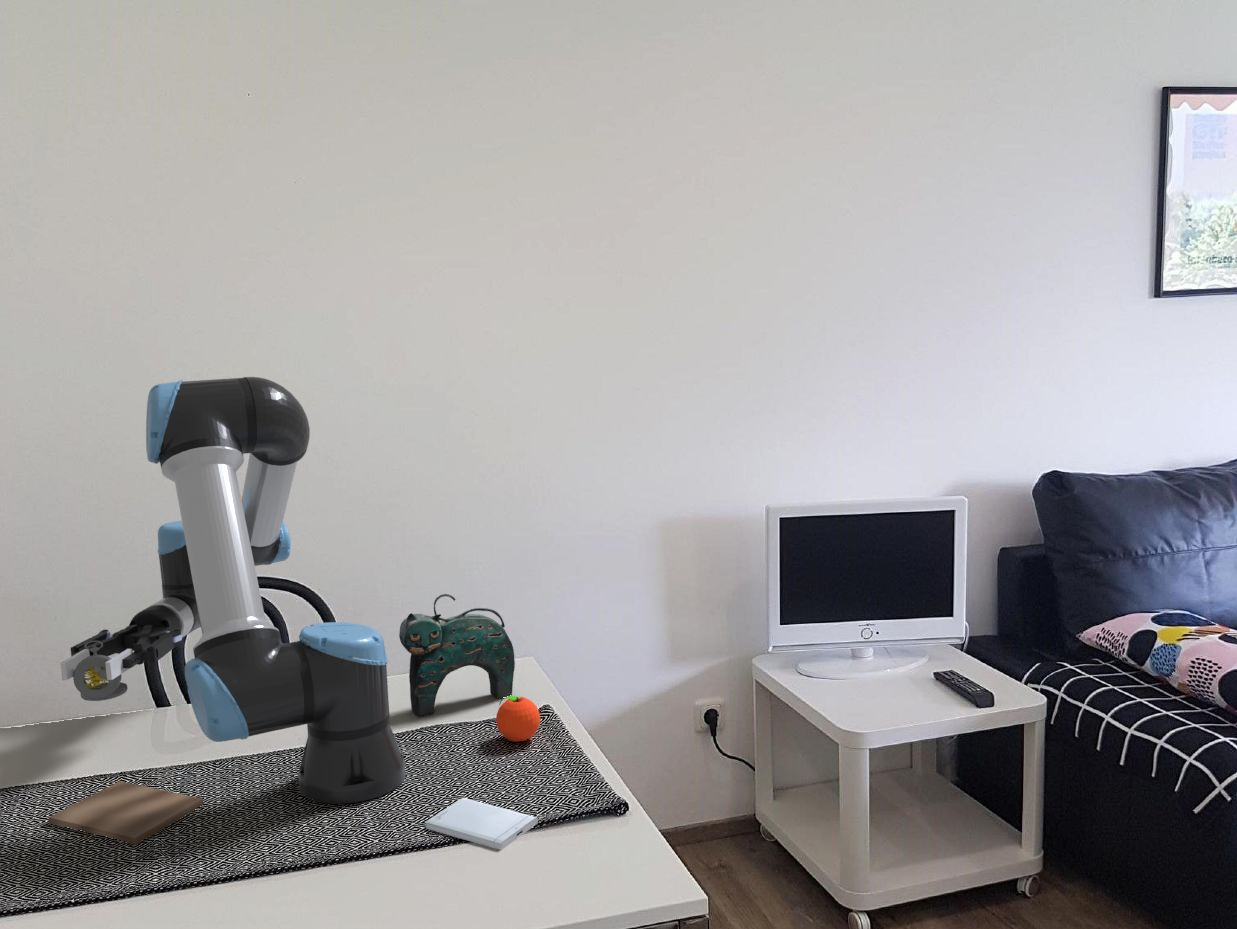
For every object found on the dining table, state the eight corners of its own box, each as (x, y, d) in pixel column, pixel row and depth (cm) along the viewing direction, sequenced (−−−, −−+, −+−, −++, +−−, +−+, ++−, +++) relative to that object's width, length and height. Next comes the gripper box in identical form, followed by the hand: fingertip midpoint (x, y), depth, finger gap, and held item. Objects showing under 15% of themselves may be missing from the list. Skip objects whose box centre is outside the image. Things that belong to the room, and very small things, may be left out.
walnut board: (203, 805, 156) (202, 798, 156) (135, 845, 146) (134, 838, 145) (120, 787, 163) (119, 781, 163) (49, 824, 152) (48, 817, 152)
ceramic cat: (410, 722, 185) (403, 605, 182) (398, 709, 190) (391, 596, 187) (520, 698, 194) (515, 586, 191) (505, 687, 200) (500, 578, 197)
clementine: (483, 739, 177) (481, 696, 175) (515, 726, 182) (513, 684, 180) (517, 752, 171) (515, 708, 170) (550, 738, 176) (548, 695, 175)
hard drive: (425, 821, 148) (500, 841, 141) (464, 796, 155) (537, 814, 148) (426, 833, 148) (501, 854, 142) (464, 807, 155) (538, 826, 149)
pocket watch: (116, 685, 177) (110, 624, 176) (140, 696, 172) (134, 633, 170) (63, 700, 171) (56, 637, 170) (86, 712, 166) (79, 647, 164)
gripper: (217, 646, 188) (150, 695, 165) (108, 647, 190) (27, 696, 167) (213, 603, 187) (146, 646, 164) (103, 604, 188) (21, 647, 166)
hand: (86, 671), depth 165 cm, fingers closed on pocket watch, 6 cm apart
